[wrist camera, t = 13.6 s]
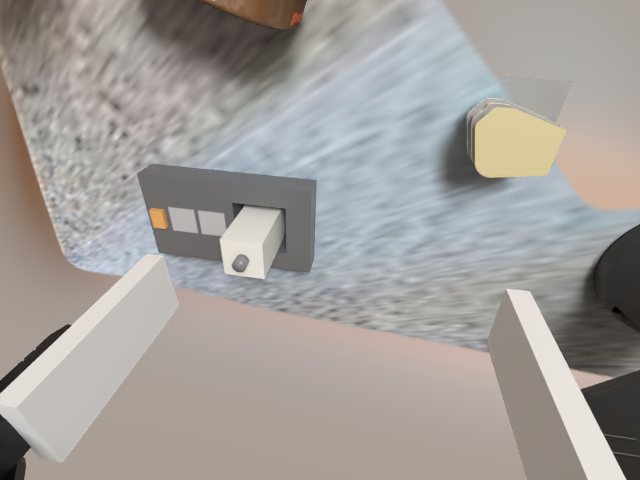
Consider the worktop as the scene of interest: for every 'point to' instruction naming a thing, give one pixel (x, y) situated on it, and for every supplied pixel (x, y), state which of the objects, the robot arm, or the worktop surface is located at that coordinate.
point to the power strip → (225, 210)
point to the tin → (264, 11)
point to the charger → (253, 241)
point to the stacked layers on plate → (517, 128)
